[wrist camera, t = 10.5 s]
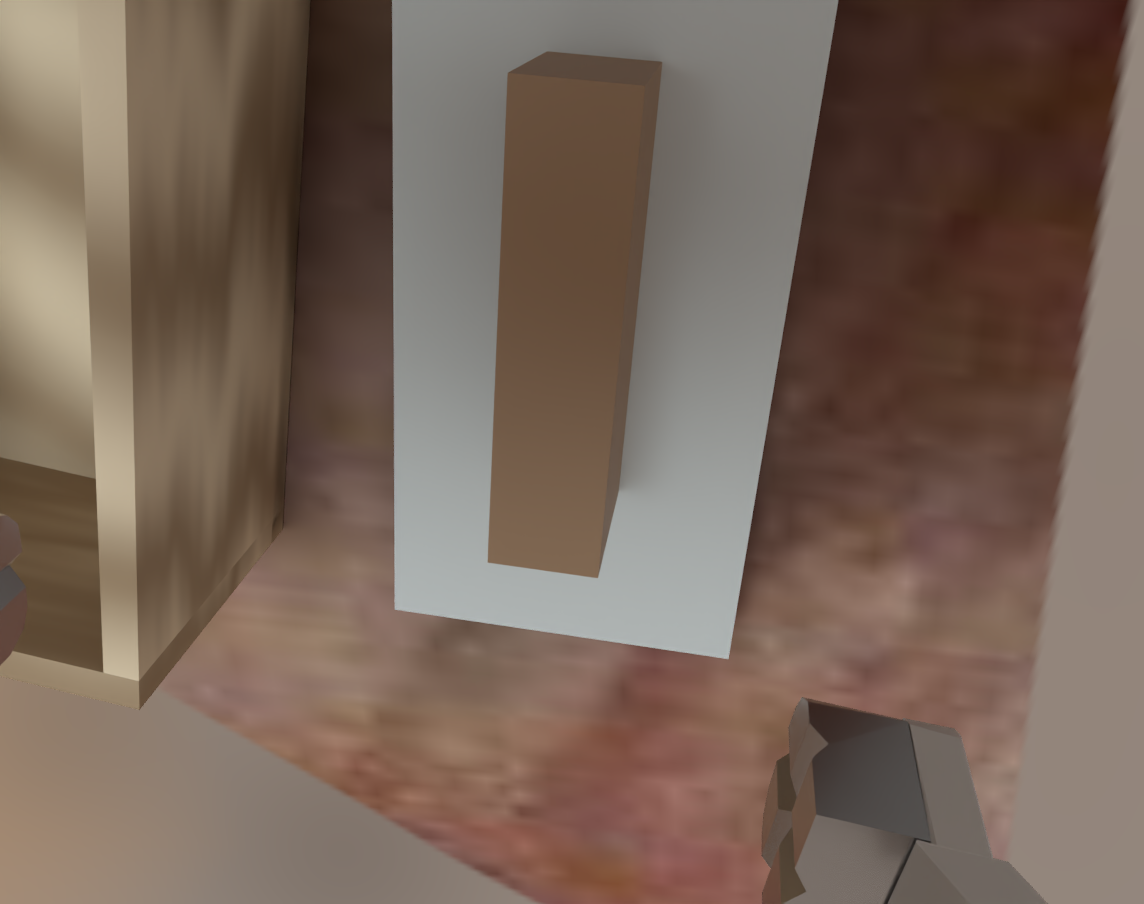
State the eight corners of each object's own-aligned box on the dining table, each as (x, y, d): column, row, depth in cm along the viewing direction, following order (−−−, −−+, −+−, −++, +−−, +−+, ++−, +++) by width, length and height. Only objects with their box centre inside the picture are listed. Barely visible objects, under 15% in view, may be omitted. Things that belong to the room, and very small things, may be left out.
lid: (422, -200, 22) (314, -247, 17) (858, -172, 21) (895, -211, 16) (417, 566, 31) (344, 704, 25) (729, 611, 30) (725, 764, 24)
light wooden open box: (-88, -329, 22) (-480, -456, 15) (323, -253, 22) (117, -349, 15) (-15, 461, 31) (-244, 617, 24) (282, 529, 30) (139, 709, 23)
